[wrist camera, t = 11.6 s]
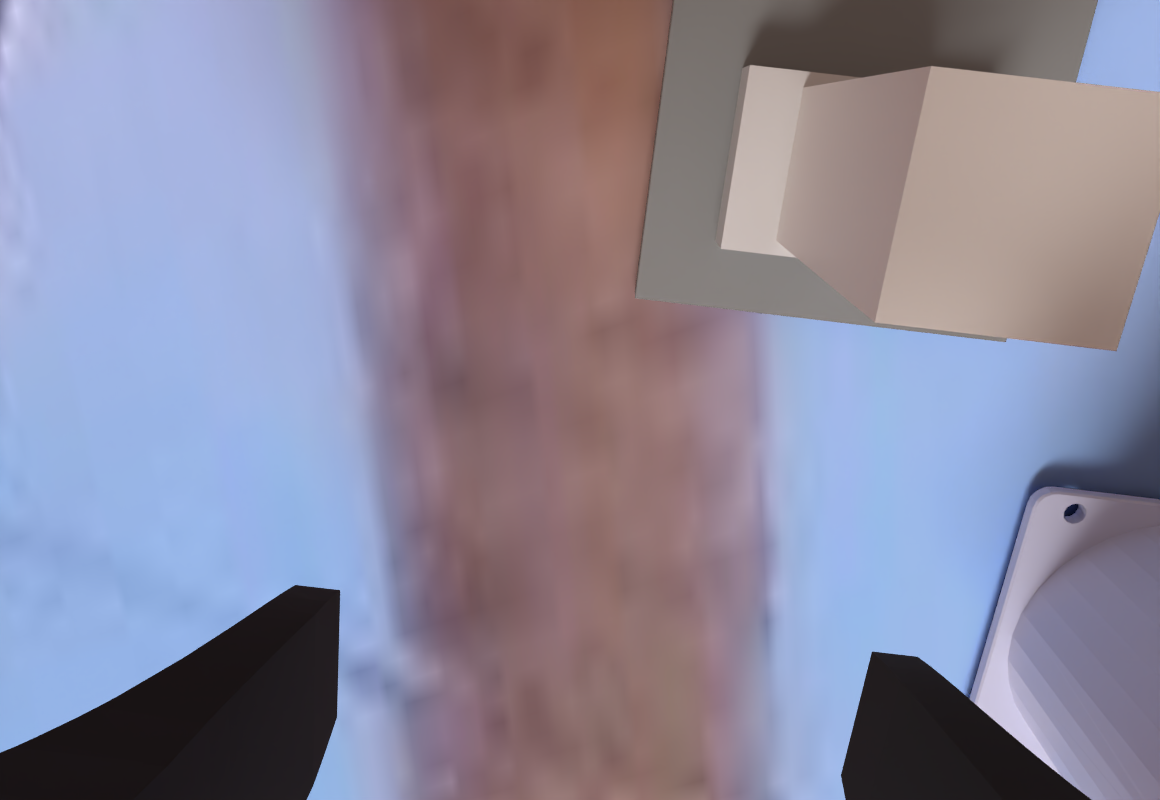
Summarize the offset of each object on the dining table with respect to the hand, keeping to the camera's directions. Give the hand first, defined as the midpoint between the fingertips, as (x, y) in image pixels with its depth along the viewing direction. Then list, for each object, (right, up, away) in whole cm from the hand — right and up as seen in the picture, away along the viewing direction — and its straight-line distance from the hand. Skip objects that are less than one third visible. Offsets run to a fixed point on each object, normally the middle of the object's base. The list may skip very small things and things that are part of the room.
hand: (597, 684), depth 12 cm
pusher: (+6, +9, +7) cm, 12 cm away
